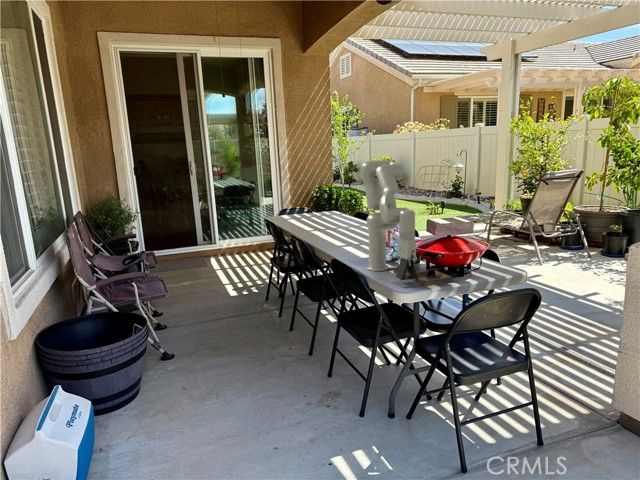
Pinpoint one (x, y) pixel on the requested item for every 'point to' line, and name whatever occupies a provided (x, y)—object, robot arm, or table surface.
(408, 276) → the door stopper
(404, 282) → the rubber mat
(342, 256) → the table surface
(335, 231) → the table surface
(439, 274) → the pocket block
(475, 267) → the table surface
